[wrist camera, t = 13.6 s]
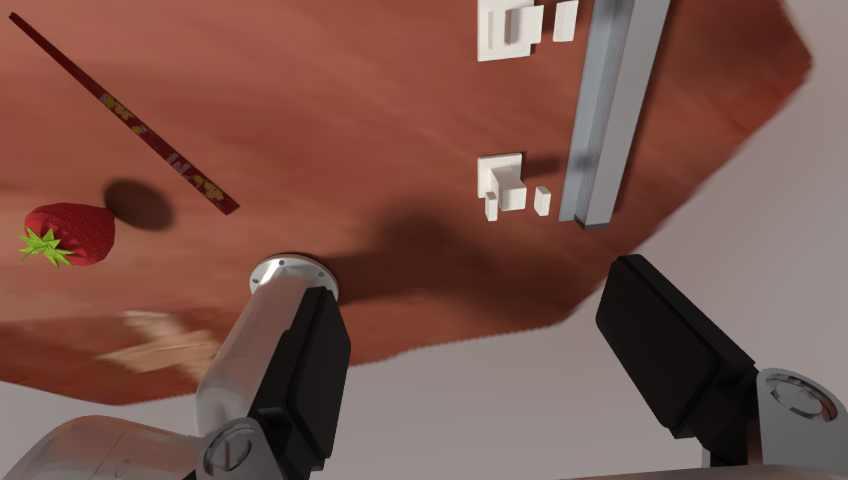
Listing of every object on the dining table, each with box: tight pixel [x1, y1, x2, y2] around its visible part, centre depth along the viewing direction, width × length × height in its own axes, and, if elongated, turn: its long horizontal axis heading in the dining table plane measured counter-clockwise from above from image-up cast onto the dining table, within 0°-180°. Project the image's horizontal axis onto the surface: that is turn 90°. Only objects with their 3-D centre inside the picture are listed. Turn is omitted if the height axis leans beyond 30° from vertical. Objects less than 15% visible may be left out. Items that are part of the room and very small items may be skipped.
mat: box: [558, 0, 671, 221], centre depth 35 cm, size 26×7×1 cm, turn 6°
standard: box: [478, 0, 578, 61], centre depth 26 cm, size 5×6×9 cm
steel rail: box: [574, 0, 670, 230], centre depth 33 cm, size 26×3×3 cm, turn 6°
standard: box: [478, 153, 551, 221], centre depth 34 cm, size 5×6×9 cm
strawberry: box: [18, 203, 115, 267], centre depth 35 cm, size 6×8×10 cm
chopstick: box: [9, 13, 238, 215], centre depth 34 cm, size 2×24×1 cm, turn 34°
